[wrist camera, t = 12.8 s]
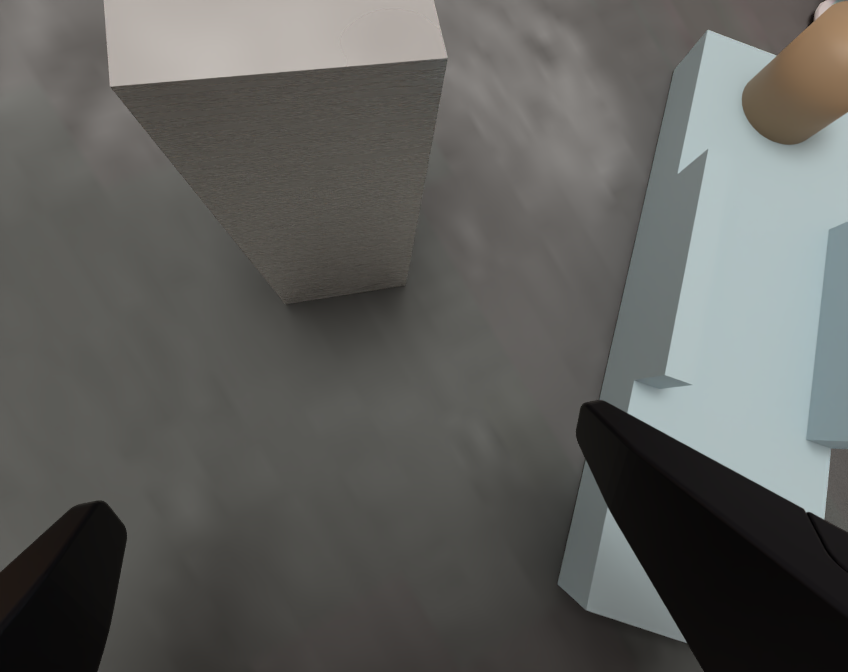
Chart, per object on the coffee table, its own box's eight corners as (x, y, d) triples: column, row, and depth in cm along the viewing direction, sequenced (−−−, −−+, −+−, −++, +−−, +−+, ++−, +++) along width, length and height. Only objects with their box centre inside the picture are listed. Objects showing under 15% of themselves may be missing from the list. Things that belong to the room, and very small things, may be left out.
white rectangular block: (405, 285, 16) (447, 58, 6) (285, 304, 15) (110, 87, 5) (377, 143, 17) (373, -247, 7) (264, 156, 16) (85, -253, 6)
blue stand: (750, 647, 14) (942, 764, 9) (557, 584, 14) (652, 670, 9) (815, 123, 19) (964, 20, 14) (674, 70, 19) (775, -53, 14)
